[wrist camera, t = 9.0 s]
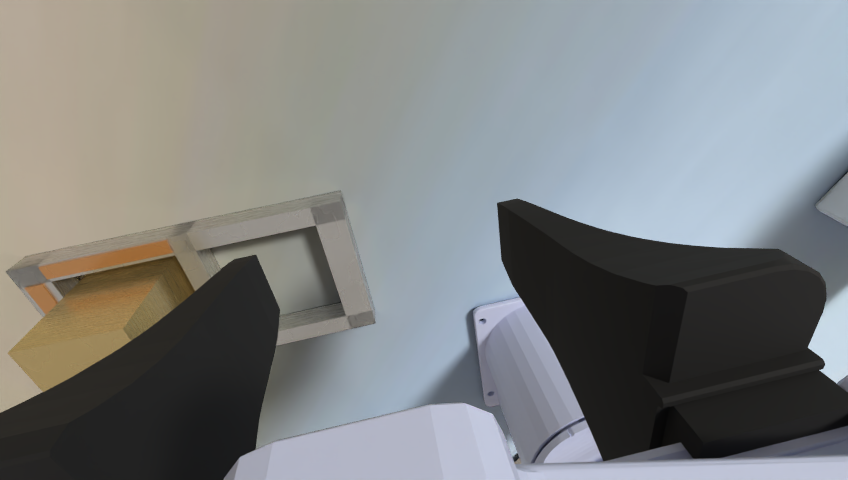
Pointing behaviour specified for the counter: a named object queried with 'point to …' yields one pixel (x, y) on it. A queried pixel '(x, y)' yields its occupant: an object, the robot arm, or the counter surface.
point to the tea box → (836, 202)
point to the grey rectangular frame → (191, 244)
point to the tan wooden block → (100, 318)
